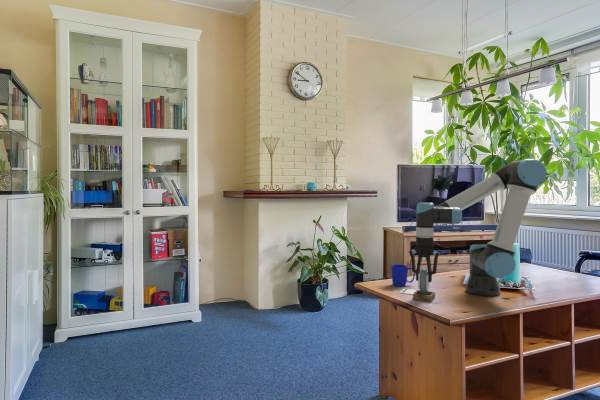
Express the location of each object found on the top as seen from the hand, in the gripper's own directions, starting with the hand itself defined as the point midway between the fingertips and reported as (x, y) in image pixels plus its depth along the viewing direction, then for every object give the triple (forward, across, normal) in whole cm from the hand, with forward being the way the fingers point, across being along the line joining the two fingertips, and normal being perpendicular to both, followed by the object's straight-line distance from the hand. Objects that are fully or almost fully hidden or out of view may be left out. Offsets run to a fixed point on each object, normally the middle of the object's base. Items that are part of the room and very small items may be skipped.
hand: (423, 288), depth 179 cm
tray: (+5, 0, 0) cm, 5 cm away
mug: (+5, +15, -21) cm, 26 cm away
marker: (+3, 0, 0) cm, 3 cm away
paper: (+5, +5, -9) cm, 12 cm away
